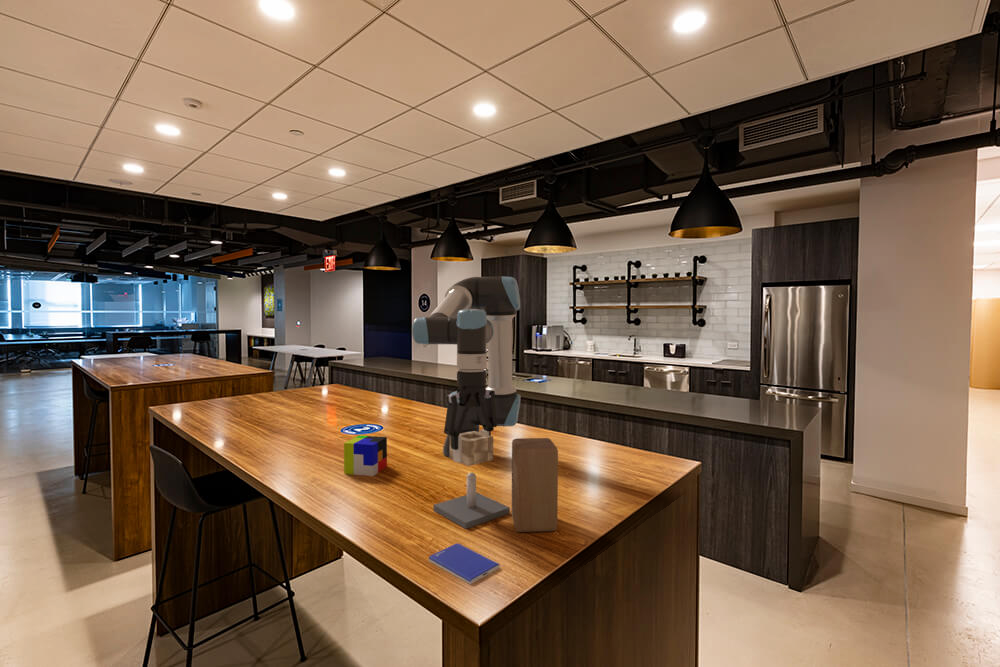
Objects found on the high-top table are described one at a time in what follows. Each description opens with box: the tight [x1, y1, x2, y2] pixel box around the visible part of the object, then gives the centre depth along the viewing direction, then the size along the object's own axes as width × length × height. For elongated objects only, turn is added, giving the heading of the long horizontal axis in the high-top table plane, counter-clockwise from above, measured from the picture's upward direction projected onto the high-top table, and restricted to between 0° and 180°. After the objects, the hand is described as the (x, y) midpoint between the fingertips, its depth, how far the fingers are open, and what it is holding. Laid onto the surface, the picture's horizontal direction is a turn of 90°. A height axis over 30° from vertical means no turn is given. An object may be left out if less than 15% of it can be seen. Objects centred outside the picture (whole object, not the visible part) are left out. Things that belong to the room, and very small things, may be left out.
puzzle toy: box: [343, 434, 388, 477], centre depth 155 cm, size 10×10×10 cm
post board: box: [432, 472, 511, 530], centre depth 121 cm, size 14×14×10 cm
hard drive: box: [428, 543, 500, 585], centre depth 96 cm, size 2×8×12 cm
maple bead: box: [449, 431, 494, 467], centre depth 121 cm, size 8×8×6 cm
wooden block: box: [511, 437, 559, 533], centre depth 114 cm, size 10×10×20 cm
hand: (471, 458), depth 121 cm, fingers closed on maple bead, 8 cm apart
